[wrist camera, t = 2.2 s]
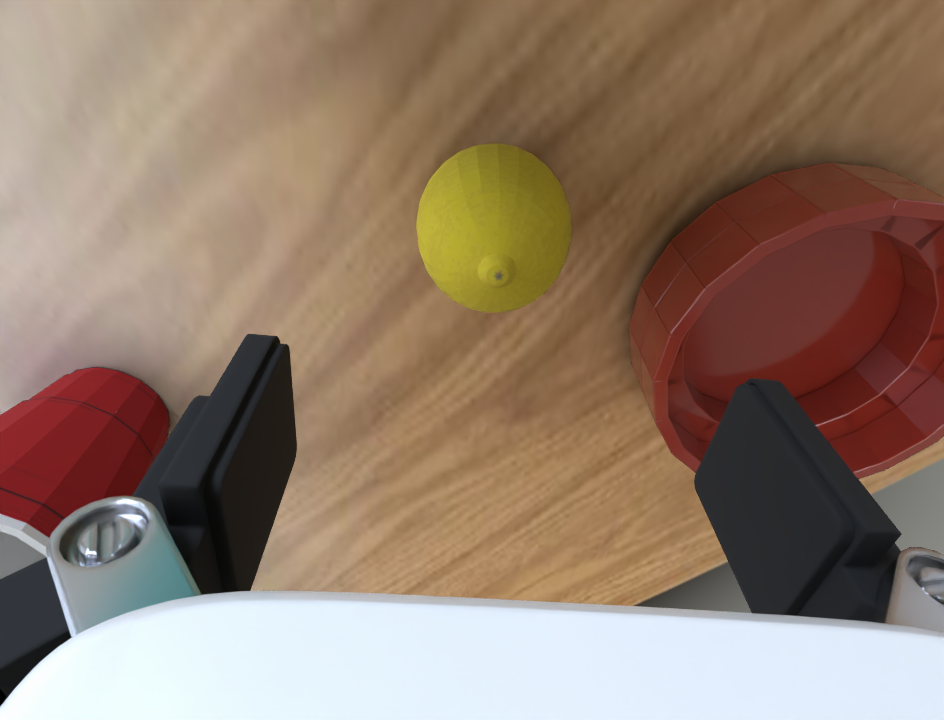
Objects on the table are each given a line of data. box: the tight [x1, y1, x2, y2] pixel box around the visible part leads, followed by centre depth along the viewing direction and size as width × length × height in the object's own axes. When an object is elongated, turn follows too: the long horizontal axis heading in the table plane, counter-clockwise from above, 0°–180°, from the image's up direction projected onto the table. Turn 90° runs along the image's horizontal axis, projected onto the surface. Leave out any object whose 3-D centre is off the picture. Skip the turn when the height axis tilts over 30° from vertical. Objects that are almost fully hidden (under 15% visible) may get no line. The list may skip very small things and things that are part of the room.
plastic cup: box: [0, 367, 170, 579], centre depth 25 cm, size 11×11×12 cm
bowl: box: [629, 163, 944, 479], centre depth 25 cm, size 14×14×5 cm
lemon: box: [416, 143, 571, 312], centre depth 20 cm, size 6×6×8 cm
